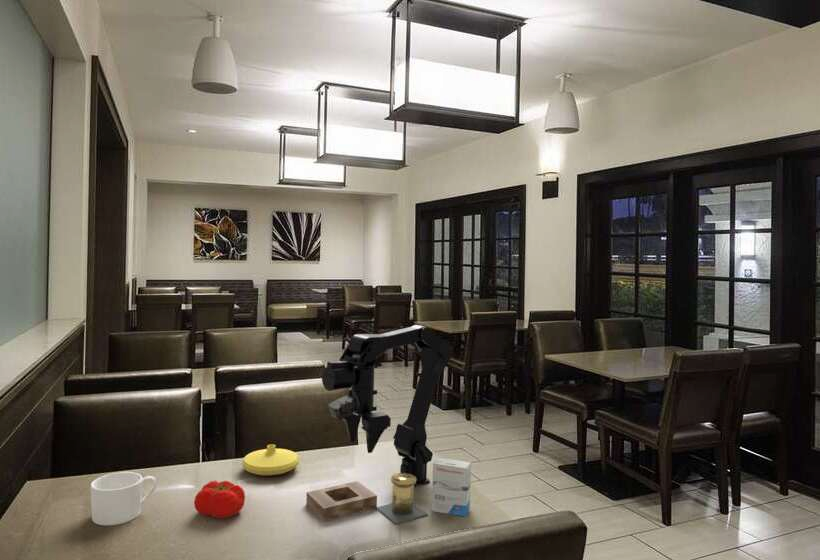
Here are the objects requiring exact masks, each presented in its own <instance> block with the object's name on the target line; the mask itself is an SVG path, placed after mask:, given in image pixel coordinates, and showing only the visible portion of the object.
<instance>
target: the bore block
mask: <svg viewBox="0 0 820 560" xmlns="http://www.w3.org/2000/svg"><path fill="white" fill-rule="evenodd" d="M377 505H378V495H377V494H376V493H375V492H373V491H371V490H370V489H369V488H368V487H366V486H365V485H364V484H362V483H361V482H360V481H358V480H357V481H352V482H348V483H347V482H346V483H342V484H338V485H334V486H330V487H324V488H320V489H316V490H312V491H307V492H306V506H307V507H308V508H309V509H311V511H312V512H314V514H316V516H318V518H320V519H321V520H322V521H323V522H326V521H327V522H328V521H330V520H331V521H332V520H335V519H339V518H342V517H346V516H350V515H353V514H357V513H360V512H361V513H362V512H365V511H369V510H373V509H376V507H378V506H377Z"/></svg>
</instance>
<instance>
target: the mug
mask: <svg viewBox="0 0 820 560" xmlns="http://www.w3.org/2000/svg"><path fill="white" fill-rule="evenodd" d="M146 481H152V486H151V489H150V490H149V491H148V492H147V493H146V494H145V495H144V496H143V483H144V482H146ZM156 487H157V480H156V477H154V476H152V475H147V476H145V477H143V476H142V475H141V474H140V473H137V472H131V471H121V472H112V473H108V474H105V475H103V476H99V477H98V478H95V479H94V480H93V481H92V482H91V484H90V501H91V503H90V504H91V521H92V522H93V523H94V524H96V525H98V526H116V525H121V524H125V523H128V522H130V521H133V520H134V519H136V518H137V517H138V516H139V515H140V514H141V512H142V511H141V510H142V504H143V503H144V502H145V501H146V500H147V499H148V498H149V497H150V496H151V495H152V494H153V493H154V491H155V489H156ZM142 496H143V497H142Z"/></svg>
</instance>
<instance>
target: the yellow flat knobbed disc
mask: <svg viewBox="0 0 820 560" xmlns="http://www.w3.org/2000/svg"><path fill="white" fill-rule="evenodd" d="M299 462H300V456H299V455H298V454H297V453H296V452H294V451H293V450H289V449H285V448H276V444H268V445H267V446H266V448H264V449H259V450H254V451H252V452H250V453H248V454H246V455H245V456H244V457H243V459H241V465H242V467H243V469H244V470H245V471H246V472H249V473H252V474H254V475H257V476H263V477H265V476H267V477H268V476H269V477H272V476H279V475H283V474H285V473H287V472H290V471H292V470H294V469H295V468H297V467H298V465H299Z"/></svg>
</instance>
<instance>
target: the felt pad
mask: <svg viewBox="0 0 820 560" xmlns="http://www.w3.org/2000/svg"><path fill="white" fill-rule="evenodd" d="M375 509H376V510H377V511H378V512H379V513H380V514H382V515H383V516H384V517H385V518H387V519H388V520H390V521H391V522H392V523H393V524H395V525H399V524H403V523H405V522H409V521H412V520H416V519H419V518H424V517H427V516H428V515H429V514H428V512H427V511H425V510H424V509H422V508H421V507H420V506H417V505H416V503H413V511H412V513H410V514H407V515H400V514H396V513H394V512H393V511H392V502H391V503H387V504H383V505H380V506H377V507H376V508H375Z"/></svg>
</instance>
